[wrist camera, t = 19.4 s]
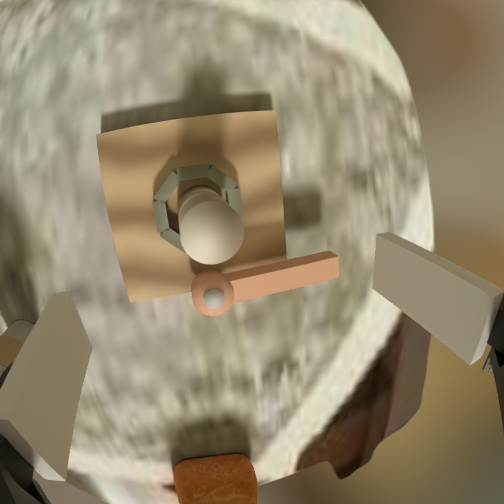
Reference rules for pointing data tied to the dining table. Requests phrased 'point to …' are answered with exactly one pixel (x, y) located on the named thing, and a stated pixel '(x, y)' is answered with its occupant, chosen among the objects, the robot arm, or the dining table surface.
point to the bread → (216, 480)
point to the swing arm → (259, 281)
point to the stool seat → (180, 179)
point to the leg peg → (208, 226)
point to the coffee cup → (13, 342)
